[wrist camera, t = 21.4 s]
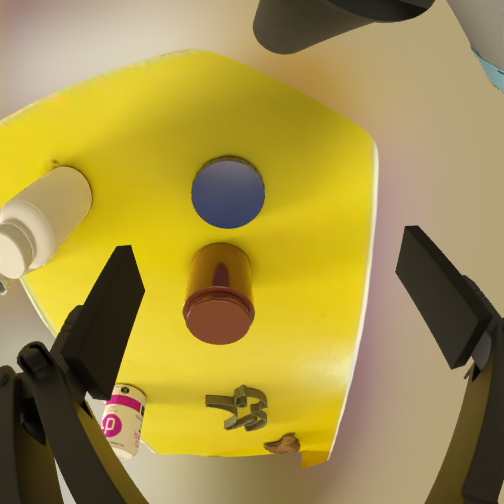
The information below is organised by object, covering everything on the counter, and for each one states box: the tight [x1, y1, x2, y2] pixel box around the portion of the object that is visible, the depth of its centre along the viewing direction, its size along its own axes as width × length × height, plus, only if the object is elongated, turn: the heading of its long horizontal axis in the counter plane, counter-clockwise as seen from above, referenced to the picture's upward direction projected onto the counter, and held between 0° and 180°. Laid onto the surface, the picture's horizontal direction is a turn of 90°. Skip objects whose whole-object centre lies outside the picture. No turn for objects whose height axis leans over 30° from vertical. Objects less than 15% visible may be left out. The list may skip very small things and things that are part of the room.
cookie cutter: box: [205, 385, 268, 432], centre depth 60 cm, size 18×12×2 cm, turn 14°
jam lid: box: [191, 156, 265, 229], centre depth 35 cm, size 8×8×2 cm
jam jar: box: [183, 243, 255, 345], centre depth 37 cm, size 8×8×10 cm
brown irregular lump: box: [264, 435, 300, 454], centre depth 71 cm, size 10×10×4 cm
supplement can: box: [100, 384, 146, 460], centre depth 51 cm, size 8×8×15 cm
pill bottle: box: [0, 167, 92, 279], centre depth 28 cm, size 8×8×15 cm
